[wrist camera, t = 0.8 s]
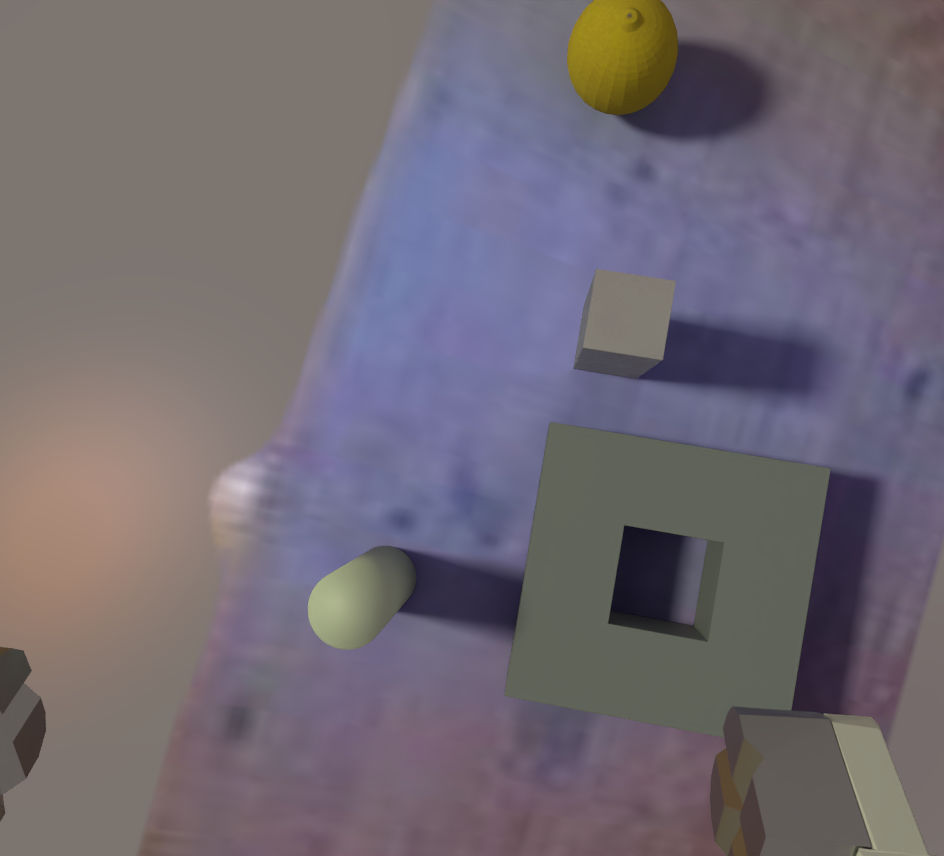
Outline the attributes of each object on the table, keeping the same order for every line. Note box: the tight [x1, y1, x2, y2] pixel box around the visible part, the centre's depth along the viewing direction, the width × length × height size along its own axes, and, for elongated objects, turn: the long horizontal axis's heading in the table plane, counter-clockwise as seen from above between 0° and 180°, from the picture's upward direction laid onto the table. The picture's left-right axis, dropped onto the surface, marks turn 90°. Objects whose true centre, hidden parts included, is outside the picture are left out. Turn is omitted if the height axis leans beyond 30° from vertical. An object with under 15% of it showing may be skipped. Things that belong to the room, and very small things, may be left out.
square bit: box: [573, 269, 676, 379], centre depth 43 cm, size 4×4×10 cm
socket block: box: [505, 422, 831, 737], centre depth 46 cm, size 14×14×4 cm
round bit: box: [308, 546, 416, 649], centre depth 44 cm, size 4×4×10 cm
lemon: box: [567, 0, 678, 115], centre depth 45 cm, size 6×6×8 cm
